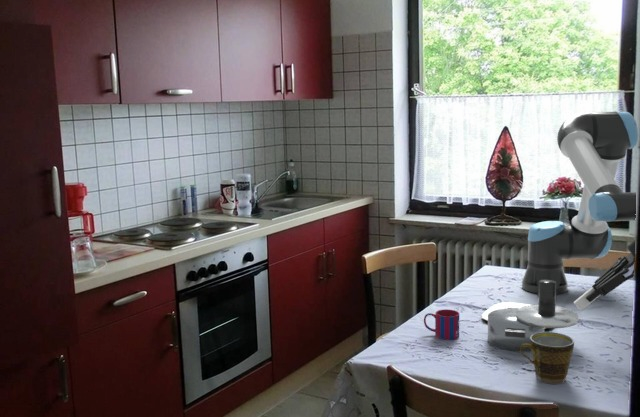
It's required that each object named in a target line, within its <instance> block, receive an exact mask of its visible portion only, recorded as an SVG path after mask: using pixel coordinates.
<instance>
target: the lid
mask: <svg viewBox="0 0 640 417" xmlns="http://www.w3.org/2000/svg"><path fill="white" fill-rule="evenodd" d="M556 297H557V294H556V282H555V281H553V280H540V281H539V294H538V303H537V304H530V306H524V307H521V308H519V309H517V311H516V318H517V319H518V320H519V321H521V322H522V323H525V324H528V325H531V326H536V327H542V328H547V329H564V328H568V327H569V328H570V327H573V326H575V325H577V324H578V322H579V314H578V313H576V312H575V311H573V310H571V309H570V308H566V307H563V306H558V305H556V302H557V298H556Z"/></svg>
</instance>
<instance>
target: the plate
mask: <svg viewBox="0 0 640 417" xmlns="http://www.w3.org/2000/svg"><path fill="white" fill-rule="evenodd" d="M530 305H531V304H530V303H522V302H521V303H520V302H512V301H511V302H510V301H509V302H506V301H503V302H499V303H495V304H494V305H491V306H490V307H489V308H487V310H485V311H483V313H482V314H481V318H482V320H484V321H486V322H488V314H489V313H490V312H492V311H495V310H499V309H508V308H521V307H524V306H530ZM546 329H548V328H544V330H546Z"/></svg>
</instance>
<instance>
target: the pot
mask: <svg viewBox="0 0 640 417" xmlns="http://www.w3.org/2000/svg"><path fill="white" fill-rule="evenodd" d="M517 309H519V308H508V309H499V310H495V311H492V312H490V313H489V314H488V321H487V342H488V343H489V344H490V345H491V346H493V347H494V348H496V349H497V348H498V349H501V350H504V351H510V352H520V348H521V346H522V345H523V344H526V343H527V344H530V345H531V343H530V337H531V335H533V334H535V333H540V332H545V329H544V328H542V327H536V326H531V325H528V324H525V323H522V322H521V321H519V320H518V319H517V318H516V311H517ZM524 352H532V350H531V348H530V347H524V348H523V349H522V353H524Z"/></svg>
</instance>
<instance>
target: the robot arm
mask: <svg viewBox="0 0 640 417" xmlns="http://www.w3.org/2000/svg"><path fill="white" fill-rule="evenodd" d="M637 125H638V124H637V121H636V120H635V118H634V116H633V115H632V114H631V112H628V111H618V110H614V111H594V112H593V111H592V112H590V111H589V112H586V111H585V112H577V113H575V114H573V115H571V116H569V117H568V118H567V119H566V120H564V121H563V122H562V124H561V125H560V126H559V127H560V128H559V129H558V132H557V136H556V138H557V146H558V148H559V151H560V152H561V153H562V155H563V156H565V158H568V159H569V160H570V162H571V164H572V166H573V168H574V170H575V171H576V172H577V174H578V176H579V178H580V180H581V181H582V183H583V188H582V189H583V190H582V193H581V194H582V195H581V199H580V203H579V208H578V212H577V215H575V216H572V219H571V222H570V225H565V223H564V222H563V221H560V220H546V221H541V222H537V223H534V224H532V225H530V227H529V228H528V237H527V241H528V242H527V267H526V270H525V272H524V275H523V278H522V281H521V288H522V289H523V290H524V291H526V292H528V293H529V292H530V293H533V294H537V295H539V281H540V280H553V281H555V282H556V295H559V294H564V293H566V292H568V285H569V284H568V281H567V277H566V274H565V271H564V268H563V267H564V260H578V259H580V260H581V259H583V260H584V259H589V260H594V259H600V258H603V257H605V256H607V254H608V253H609V251H610V250H611V248H612V247H611V246H612V242H613V240H612V237H613V234H612V229H611V228H610V227H609V224H608V223H609V222H610V223H611V222H621V221H622V222H630V221H636V220H635V218H636V215H635V214H636V191H635V192H631V191H630V192H629V191H628V192H623V191H622V189H621V187H620V186H619V185H618V183H617V181H616V180H615V177H616V174H617V169H618V165H619V161H620V160H621V161H622V160H623V159H625V157H626V155H627V154H626V153H627V151H628V150H631V149H634V148H635V147H636V146H637V143H638V139H639V131H638V130H639V129H638V126H637ZM626 248H627V251H629V253H628V255H626V256H625V255H623V256H622V257H621V256H620V257H618V258H617V259H616V261H615V262H614V263H613V264H612V265H611V266H610V267H609V268H607V269H606V271H605V272H603V274H601V275H600V276H599V277H597V279H596V280H594V284H593V285H592V286H591V287H590V288H588V289H587V290H586V291H585V292H584V293H583V294H582V295H580V296H579V297H578V298H577V299H575V300H574V301H573V305H575V306H576V307H577V308H578V309H579V310H580V312H581V311H584V310H585V309H586V308H588V306H590V305H591V304H592V303H593V302H594V301H596V300H597V299H598V298H599V297H601V296H603V297H604V296H606V295H608V294H609V293H611V292H612V291H613V290H615V289H616V288H618V287H619V286H621V285H622V284H624V283H625V282H626V281H628V280H630V279H631V278H634V277H635V273H634V262H635V239H634V240H632V242H630V243H629V244H628V245H627V247H626Z"/></svg>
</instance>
